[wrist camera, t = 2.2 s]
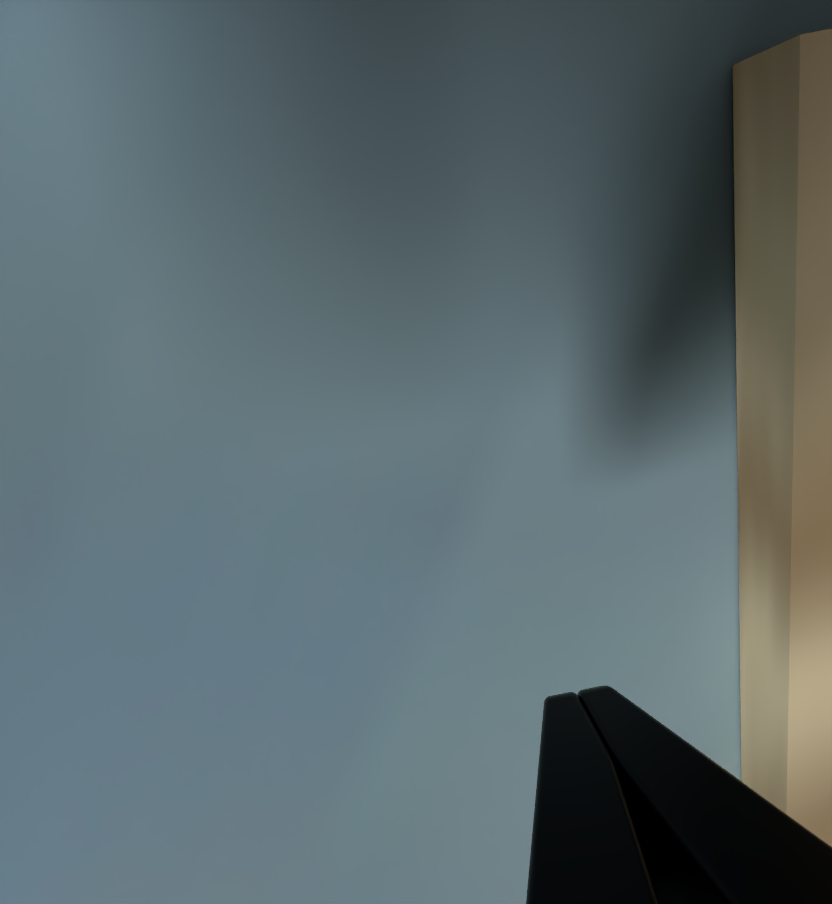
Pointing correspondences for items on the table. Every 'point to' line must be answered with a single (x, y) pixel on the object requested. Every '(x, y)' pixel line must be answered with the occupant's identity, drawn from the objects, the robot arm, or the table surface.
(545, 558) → the table surface
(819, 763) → the trap board
